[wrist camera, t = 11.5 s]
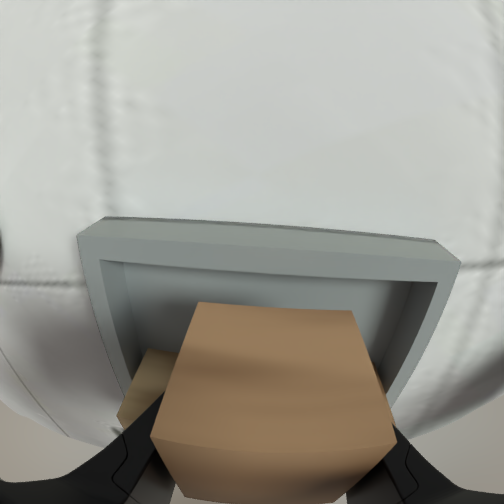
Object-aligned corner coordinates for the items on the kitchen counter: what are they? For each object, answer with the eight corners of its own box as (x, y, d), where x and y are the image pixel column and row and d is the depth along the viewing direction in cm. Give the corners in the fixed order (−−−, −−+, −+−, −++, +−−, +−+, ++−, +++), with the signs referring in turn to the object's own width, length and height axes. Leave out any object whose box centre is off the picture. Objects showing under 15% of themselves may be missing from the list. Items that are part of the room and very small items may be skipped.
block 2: (321, 400, 11) (333, 502, 6) (206, 394, 11) (185, 497, 6) (351, 310, 9) (397, 442, 4) (198, 301, 9) (150, 436, 4)
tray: (434, 239, 12) (461, 261, 9) (361, 414, 17) (367, 440, 15) (105, 216, 12) (76, 235, 10) (148, 401, 18) (138, 426, 15)
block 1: (234, 359, 14) (223, 437, 10) (233, 408, 16) (225, 473, 12) (147, 347, 15) (116, 415, 10) (161, 398, 17) (141, 457, 12)
